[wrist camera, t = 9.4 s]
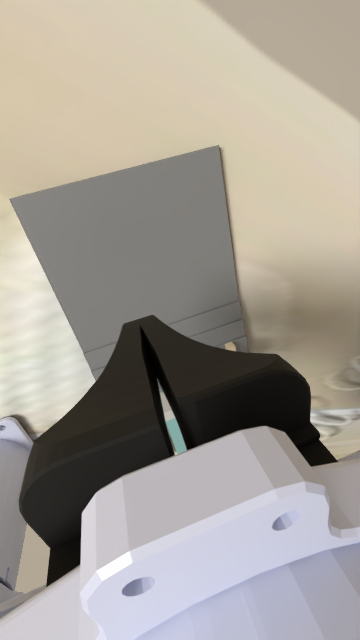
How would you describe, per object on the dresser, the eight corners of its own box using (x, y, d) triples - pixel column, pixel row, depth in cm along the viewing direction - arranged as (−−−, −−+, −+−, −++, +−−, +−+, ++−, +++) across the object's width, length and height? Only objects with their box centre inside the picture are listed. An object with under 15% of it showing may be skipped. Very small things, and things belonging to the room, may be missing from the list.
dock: (133, 453, 27) (136, 474, 25) (10, 198, 16) (-1, 201, 14) (251, 406, 28) (262, 423, 26) (216, 145, 17) (231, 142, 15)
